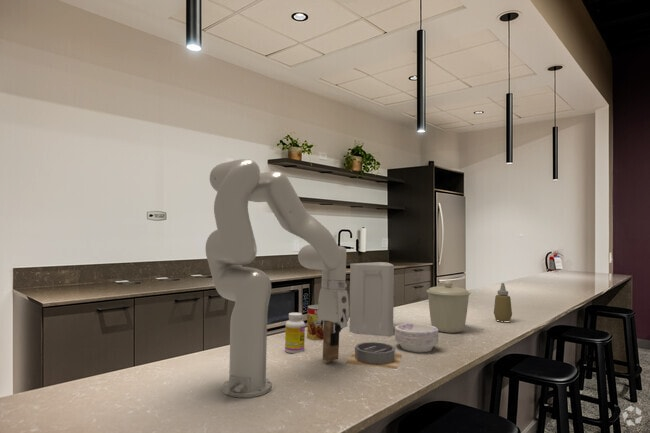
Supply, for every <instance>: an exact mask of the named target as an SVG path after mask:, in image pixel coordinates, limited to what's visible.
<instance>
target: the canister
mask: <svg viewBox="0 0 650 433" xmlns="http://www.w3.org/2000/svg"><path fill="white" fill-rule="evenodd" d="M425 292H426V293H427V298H428V308H429V317H430V323H431V326H434V327H436V328H438V331H439V332H441V333H447V334H453V333H454V334H456V333H460V332H462V331H464V329H465V327H466V321H467V313H468V308H469V307H468V305H469V297H470V295H471V292H470V291H468V290H467V289H465V288H462V287H459V286H453V281H451V280H445V281H444V282H443V285H441V286H440V285H439V286H437V285H436V286H432V287H430V288H428V289H426V291H425Z"/></svg>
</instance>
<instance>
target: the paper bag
mask: <svg viewBox="0 0 650 433" xmlns="http://www.w3.org/2000/svg"><path fill="white" fill-rule="evenodd" d="M349 265H350V268H349V269H350V270H349V274H350V276H349V280H350V281H349V333H351V332H352V334H355V335H367V336H381V337H382V336H383V337H391V336H394V305H395V304H394V302H395V301H394V297H395V296H394V290H395V289H394V288H395V286H394V285H395V284H394V283H395V274H394V273H395V270H394V268H395V266H394V264H392V263H389V262H382V261H377V262H375V261H374V262H360V263H350V264H349Z"/></svg>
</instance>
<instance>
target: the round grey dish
mask: <svg viewBox="0 0 650 433" xmlns="http://www.w3.org/2000/svg"><path fill="white" fill-rule="evenodd" d="M372 346H377V351H378V350H382V349H387V352H379V353H376V352H367V351H363V349H365V348H368V347H372ZM354 351H355V357H356V360H358V361H360V362H363V363H367V364H375V365H382V364H389V363H392V362H394V360H395V353H396V347H394V346H393V345H392V344H387V343H384V342H376V341H371V342H370V341H369V342H366V341H365V342H362V343H361V342H360V343H357V344H356V345H355V346H354Z"/></svg>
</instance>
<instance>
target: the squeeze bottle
mask: <svg viewBox="0 0 650 433" xmlns="http://www.w3.org/2000/svg"><path fill="white" fill-rule="evenodd" d="M500 284H501V285H500V288H499V290H497V295H495V296H494V297H495V298H494V308H493V315H494V318H495V321H496V320H499V321H510V322H511V319H512V316H513V311H512V302H511V300H512V299H511V296H510V295H509V290H506V286H505V282H501V283H500Z"/></svg>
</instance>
